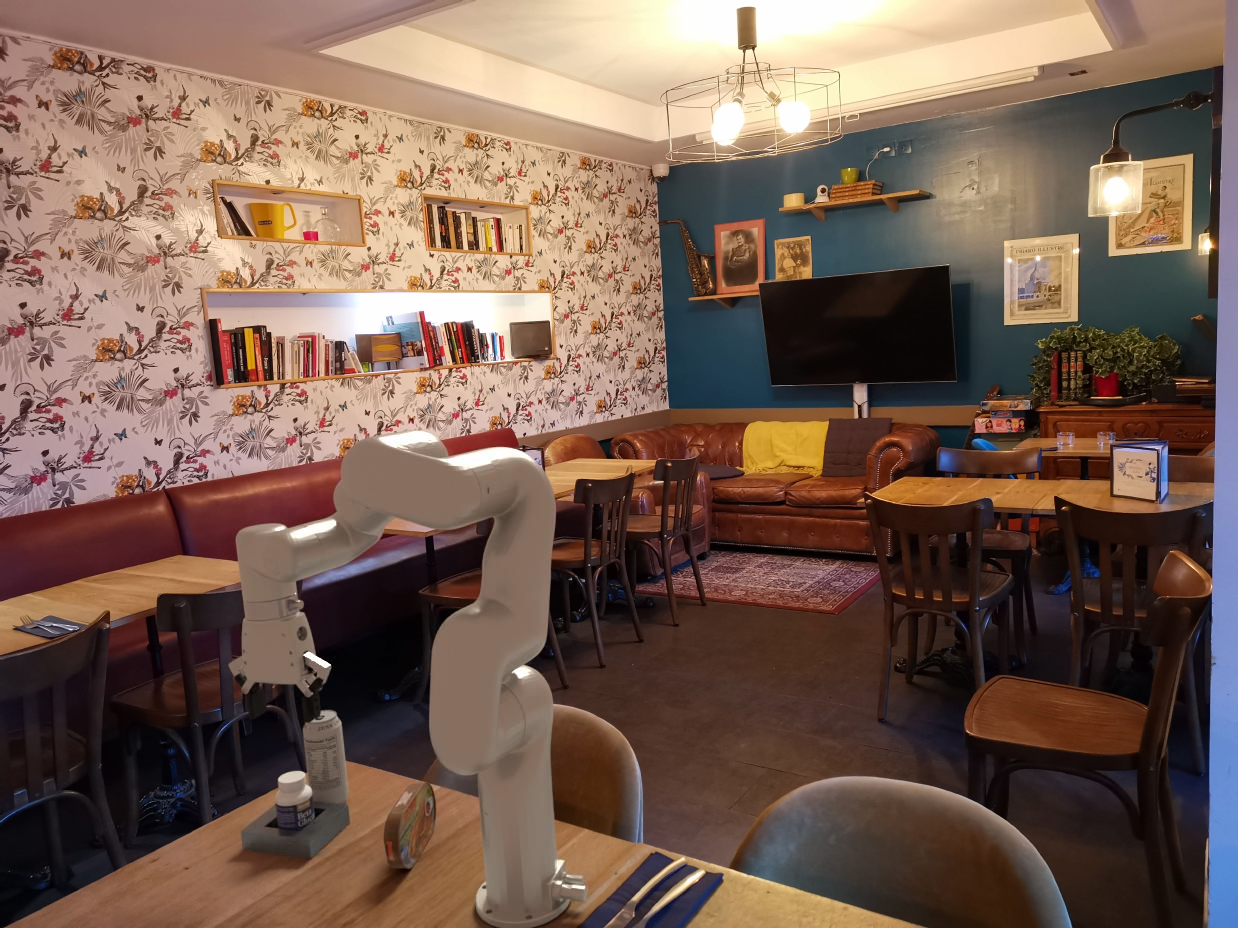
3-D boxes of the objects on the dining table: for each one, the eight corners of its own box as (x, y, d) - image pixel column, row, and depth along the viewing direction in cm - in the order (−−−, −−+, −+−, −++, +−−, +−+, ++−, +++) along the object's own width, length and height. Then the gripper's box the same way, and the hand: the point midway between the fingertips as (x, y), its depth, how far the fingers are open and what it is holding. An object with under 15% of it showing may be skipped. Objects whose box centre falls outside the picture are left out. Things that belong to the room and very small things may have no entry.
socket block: (350, 822, 140) (348, 804, 140) (311, 858, 131) (309, 839, 130) (285, 815, 144) (283, 797, 143) (242, 849, 134) (240, 830, 134)
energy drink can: (355, 792, 150) (346, 708, 148) (340, 811, 144) (331, 723, 142) (320, 793, 150) (311, 708, 148) (305, 812, 145) (295, 724, 143)
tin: (405, 880, 124) (399, 824, 123) (383, 880, 124) (377, 823, 123) (439, 823, 139) (435, 772, 138) (420, 822, 139) (415, 772, 138)
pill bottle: (304, 847, 134) (297, 786, 133) (272, 845, 135) (265, 784, 134) (323, 827, 139) (316, 768, 138) (292, 825, 140) (285, 767, 139)
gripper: (336, 600, 134) (349, 710, 136) (240, 599, 139) (254, 704, 141) (305, 616, 126) (319, 730, 129) (205, 613, 132) (220, 724, 134)
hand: (285, 717), depth 135 cm, fingers open, 9 cm apart
